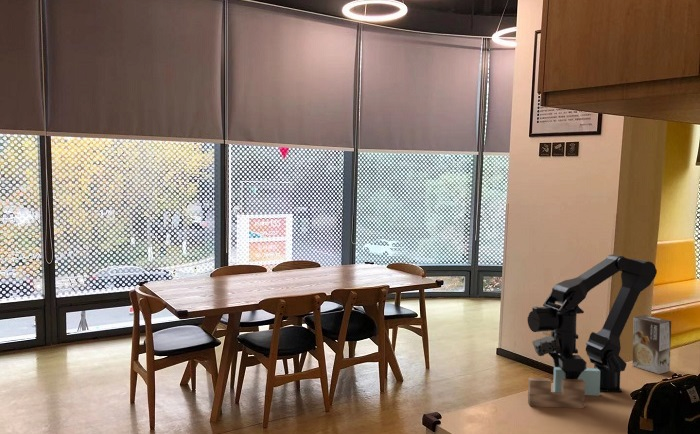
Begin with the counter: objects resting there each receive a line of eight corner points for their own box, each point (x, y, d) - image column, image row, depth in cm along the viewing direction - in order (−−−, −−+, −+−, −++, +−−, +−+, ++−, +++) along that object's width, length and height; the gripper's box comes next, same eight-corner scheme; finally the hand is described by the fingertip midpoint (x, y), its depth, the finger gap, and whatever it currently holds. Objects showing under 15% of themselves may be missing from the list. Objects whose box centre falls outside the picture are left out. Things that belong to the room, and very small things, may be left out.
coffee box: (671, 371, 169) (673, 320, 168) (658, 374, 166) (660, 323, 165) (643, 362, 177) (645, 314, 176) (630, 365, 174) (632, 316, 173)
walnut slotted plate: (581, 405, 144) (582, 379, 144) (584, 408, 142) (585, 382, 142) (527, 402, 145) (528, 377, 145) (529, 406, 143) (530, 380, 143)
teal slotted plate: (597, 392, 152) (597, 368, 152) (599, 395, 150) (600, 371, 150) (553, 391, 153) (553, 367, 153) (555, 393, 151) (555, 369, 151)
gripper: (527, 319, 161) (526, 371, 162) (544, 338, 142) (542, 395, 144) (566, 320, 160) (565, 372, 161) (587, 339, 141) (586, 397, 142)
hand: (563, 383), depth 152 cm, fingers open, 9 cm apart
